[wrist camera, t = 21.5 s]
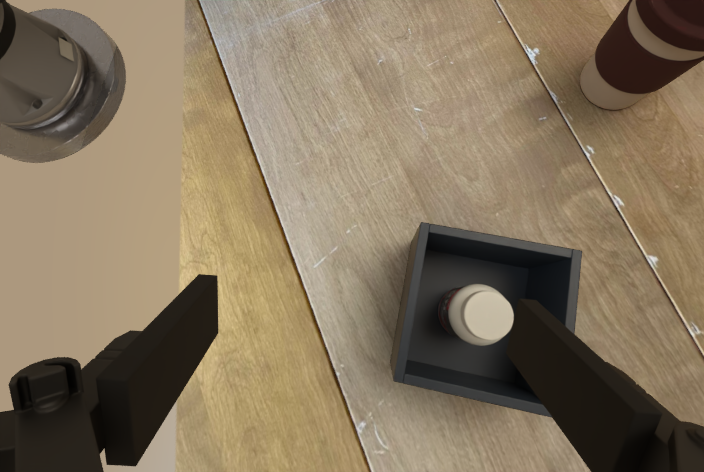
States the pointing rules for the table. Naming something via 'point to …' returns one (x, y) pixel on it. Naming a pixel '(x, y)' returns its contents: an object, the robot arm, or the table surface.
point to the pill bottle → (476, 314)
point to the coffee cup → (644, 51)
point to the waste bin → (466, 269)
